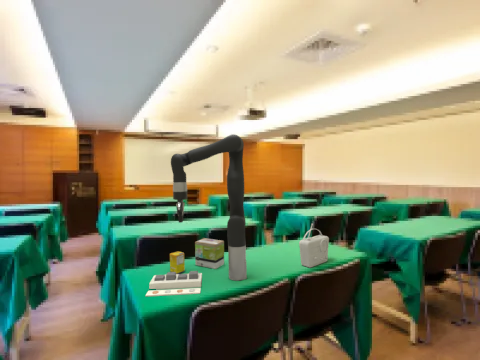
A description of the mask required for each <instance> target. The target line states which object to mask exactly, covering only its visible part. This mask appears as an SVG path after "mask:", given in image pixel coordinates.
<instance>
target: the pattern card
mask: <svg viewBox="0 0 480 360" xmlns="http://www.w3.org/2000/svg"><path fill="white" fill-rule="evenodd" d="M201 290H202V288H201V287H194V288H175V289H156V290H148V291H147V292H146V294H145V297H160V296H162V297H164V296H178V295H179V296H181V295H183V296H184V295H193V294H194V295H195V294H196V295H197V294H201Z"/></svg>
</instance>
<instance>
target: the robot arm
mask: <svg viewBox="0 0 480 360" xmlns="http://www.w3.org/2000/svg"><path fill="white" fill-rule="evenodd" d="M244 146H245V145H244V141H243V138H242V137H240V136H239V135H237V134H235V133H234V134H229V135H227V136H226V137H223V138H222V139H220V140H217V141H216V142H213V143H210V144H206V145H203V146H199V147H195V148H193V149H190V150H188V152H185V153H175V154H173V155H172V156H171V157H170V167H171V170H172V179H173V180H172V183H173V184H172V199H173V200H174V201H175V200H176V201H177V202H176V204H175V205H176V212H177V213H176V214H177V216H178V218H177V219H178V224H179V223H180V224H181V223H183V222H184V214H185V212H184V211H185V202H184V201H185V200H188V183H187V172H186V171H185V169H184V167H187V166H189V165H191V164H193V163H194V164H195V163H198V162H201V161H205V160H208V159H209V158H211V157H214V156H216V155H219V154H223V153H228V160H229V161H228V163H229V164H228V169H227V175H226V191H227V196H228V200H229V217H228V220H227V225H226V226H227V227H226V231H227V235H226V237H227V246H228V256H227V257H228V278H229V280H232V281H238V282H239V281H243V280H247V279H248V277H247V276H248V275H247V272H248V270H247V265H248V264H247V255H246V254H247V252H246V251H247V249H246V243H247V242H246V223H247V222H246V217H245V209H244V204H245V203H244V202H245V201H244V200H245V173H244V172H245V171H244V165H243V164H244V163H243V162H244V160H243V159H244V156H243V155H244V148H245V147H244Z"/></svg>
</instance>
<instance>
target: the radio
mask: <svg viewBox="0 0 480 360" xmlns="http://www.w3.org/2000/svg"><path fill="white" fill-rule="evenodd" d="M313 225H314V223H311V225H310V229H309V230H308V231H306V233H305V234H304V235H303V238H302V239H301V240H299V243H298V244H299V245H298V247H299V256H300V264H301V266H304V267H307V268H310V269H311V268H314V267H316V266H319V265H321V264H323V263H326V262H328V260H329V259H328V257H329V242H330V238H329V236H327V235H323V234H322V232H321V230H320V229H317V228H315V230H317V231H318V232H319V234H318V235H314V236H312V237H311V231H312V230H313ZM307 235H308V236H307Z"/></svg>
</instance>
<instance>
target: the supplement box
mask: <svg viewBox="0 0 480 360" xmlns="http://www.w3.org/2000/svg"><path fill="white" fill-rule="evenodd" d="M185 265H186V264H185V253H184V252H182V251H179V250H178V251H174V252H171V253H169V272H176V274H184V273H185V271H186V270H185V268H186V266H185Z"/></svg>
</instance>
